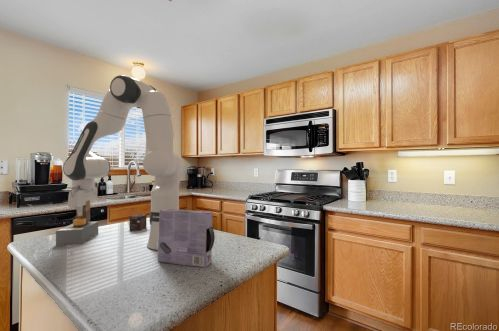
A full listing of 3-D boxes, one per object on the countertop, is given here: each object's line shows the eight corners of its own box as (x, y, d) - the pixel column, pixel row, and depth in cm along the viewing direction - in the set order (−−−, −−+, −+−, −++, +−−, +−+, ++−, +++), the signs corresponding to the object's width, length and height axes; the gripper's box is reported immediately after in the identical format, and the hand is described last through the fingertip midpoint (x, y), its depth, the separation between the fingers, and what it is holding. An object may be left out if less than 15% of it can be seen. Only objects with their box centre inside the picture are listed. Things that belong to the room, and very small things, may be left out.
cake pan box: (215, 262, 84) (215, 210, 84) (209, 268, 79) (208, 212, 79) (165, 257, 89) (165, 208, 89) (156, 262, 84) (156, 210, 84)
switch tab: (86, 223, 115) (86, 218, 115) (82, 225, 112) (82, 219, 112) (76, 224, 114) (76, 218, 114) (73, 225, 112) (73, 220, 112)
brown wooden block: (90, 221, 119) (89, 200, 119) (86, 223, 115) (85, 201, 115) (80, 221, 118) (80, 200, 118) (76, 223, 114) (76, 201, 114)
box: (129, 230, 127) (128, 216, 127) (136, 227, 133) (136, 214, 133) (139, 231, 126) (139, 216, 126) (146, 228, 132) (146, 214, 132)
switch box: (98, 233, 121) (98, 221, 121) (82, 243, 105) (82, 229, 105) (75, 234, 119) (75, 222, 119) (55, 245, 104) (55, 230, 104)
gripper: (79, 186, 107) (80, 218, 107) (99, 183, 127) (100, 210, 127) (63, 187, 106) (63, 219, 106) (86, 183, 126) (86, 211, 126)
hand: (83, 214), depth 117 cm, fingers closed on brown wooden block, 4 cm apart
